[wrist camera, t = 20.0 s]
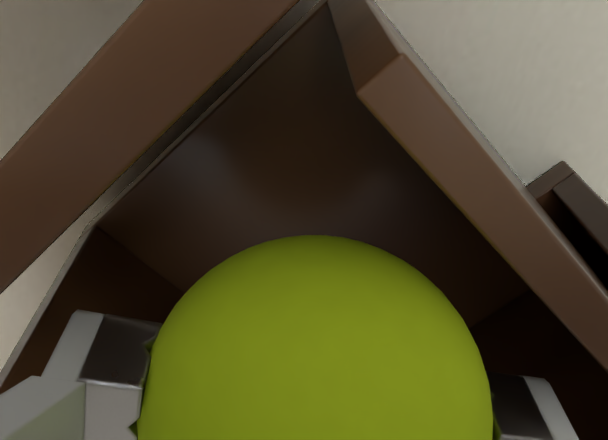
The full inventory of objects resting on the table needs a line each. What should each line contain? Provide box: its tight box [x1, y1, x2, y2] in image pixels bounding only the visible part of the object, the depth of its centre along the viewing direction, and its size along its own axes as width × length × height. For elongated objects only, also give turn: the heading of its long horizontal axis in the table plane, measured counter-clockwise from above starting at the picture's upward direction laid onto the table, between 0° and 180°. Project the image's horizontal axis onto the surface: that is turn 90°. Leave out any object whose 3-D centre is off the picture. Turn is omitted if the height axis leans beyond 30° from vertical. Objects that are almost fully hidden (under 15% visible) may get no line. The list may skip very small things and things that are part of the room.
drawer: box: [0, 0, 608, 440], centre depth 12 cm, size 18×11×8 cm, turn 43°
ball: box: [137, 235, 493, 440], centre depth 10 cm, size 6×6×6 cm
